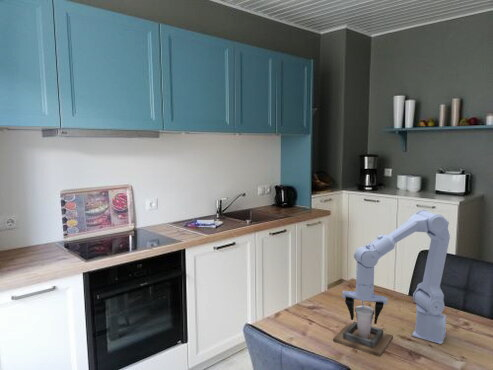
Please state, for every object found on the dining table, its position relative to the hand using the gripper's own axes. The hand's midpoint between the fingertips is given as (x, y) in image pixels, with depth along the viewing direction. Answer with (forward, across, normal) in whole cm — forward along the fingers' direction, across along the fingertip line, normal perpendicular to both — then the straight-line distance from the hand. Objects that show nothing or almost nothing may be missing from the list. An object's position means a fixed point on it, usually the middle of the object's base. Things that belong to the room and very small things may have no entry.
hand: (363, 320), depth 128 cm
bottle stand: (+7, 0, 0) cm, 7 cm away
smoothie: (+6, 0, -1) cm, 6 cm away
